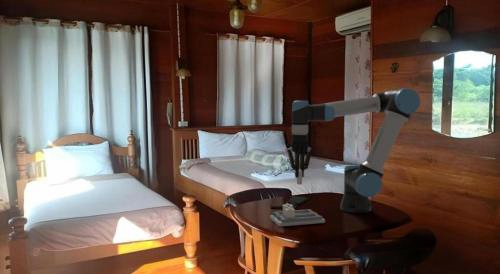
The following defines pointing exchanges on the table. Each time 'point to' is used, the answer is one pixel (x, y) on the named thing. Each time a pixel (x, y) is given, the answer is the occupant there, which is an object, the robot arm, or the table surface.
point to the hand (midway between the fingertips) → (299, 183)
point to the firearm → (291, 202)
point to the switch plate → (297, 218)
